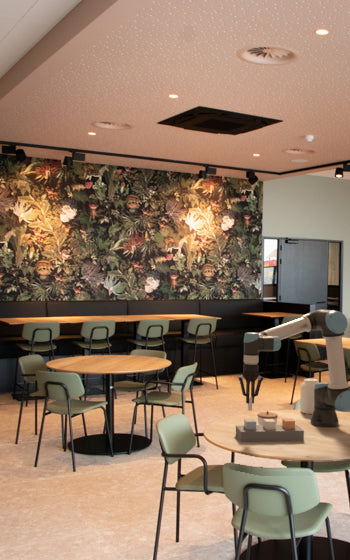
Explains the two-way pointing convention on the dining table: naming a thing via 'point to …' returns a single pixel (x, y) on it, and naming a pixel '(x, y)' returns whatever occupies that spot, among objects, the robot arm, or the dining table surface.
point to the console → (269, 434)
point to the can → (307, 395)
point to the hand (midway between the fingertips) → (249, 409)
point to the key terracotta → (288, 424)
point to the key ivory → (269, 424)
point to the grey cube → (249, 424)
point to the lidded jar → (266, 416)
